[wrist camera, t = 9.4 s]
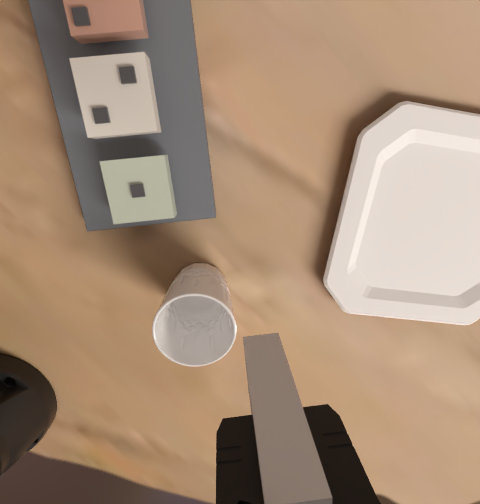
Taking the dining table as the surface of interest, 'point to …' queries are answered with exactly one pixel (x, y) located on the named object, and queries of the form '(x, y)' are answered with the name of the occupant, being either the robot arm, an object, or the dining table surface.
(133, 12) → the tile three
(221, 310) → the white cup
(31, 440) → the robot arm
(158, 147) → the board
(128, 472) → the dining table surface
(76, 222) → the dining table surface
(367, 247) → the plate
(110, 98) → the tile two
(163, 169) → the tile one
